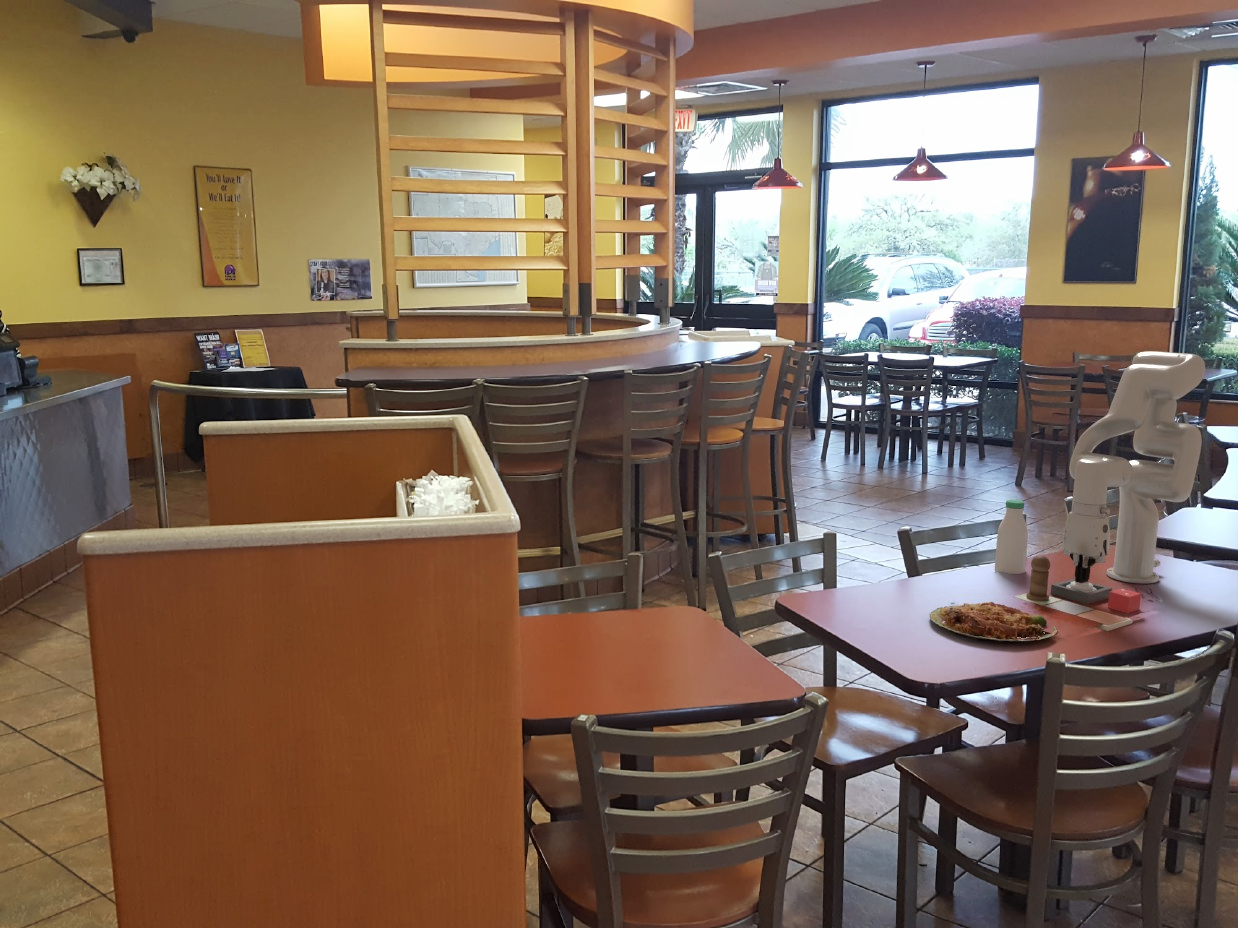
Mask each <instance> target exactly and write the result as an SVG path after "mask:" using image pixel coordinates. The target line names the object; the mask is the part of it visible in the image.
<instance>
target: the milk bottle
mask: <svg viewBox="0 0 1238 928" xmlns="http://www.w3.org/2000/svg"><path fill="white" fill-rule="evenodd" d="M1005 509H1006V511H1005V514H1004V517H1003V519H1001V522H1000V524H999V526H998V529H997V536H996V538H997V539H996V545H995V546H996V548H995V549H996V550H995V561H994V571H995V573H999V572H1000V573H1002V574H1003V573H1004V574H1009V575H1010V574H1011V575H1013V574H1014V575H1019V574H1024V573H1025V572H1026V566H1027V556H1028V555H1027V553H1028V552H1027V551H1028V542H1029V539H1028V537H1029V531H1028V526H1027V524H1026V521H1025V517H1024V510H1025V502H1024V500H1023V501H1022V500H1019V499H1007V500H1006V502H1005Z"/></svg>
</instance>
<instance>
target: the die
mask: <svg viewBox="0 0 1238 928" xmlns="http://www.w3.org/2000/svg"><path fill="white" fill-rule="evenodd" d="M1141 598H1142V594H1141V593H1140V592H1136V591H1132V590H1128V589H1125V588H1121V587H1120V588H1117V589H1115V590H1112V591H1110V592H1109V598H1108V599H1107V608H1108V609H1111V610H1115V611H1118V612H1122V613H1126V614H1129V613H1132V612H1135V611H1139V610H1140V605H1141ZM1136 615H1139V613H1135V614H1132V615H1130V616H1128V618H1130V617H1133V616H1136Z"/></svg>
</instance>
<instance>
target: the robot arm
mask: <svg viewBox="0 0 1238 928" xmlns="http://www.w3.org/2000/svg"><path fill="white" fill-rule="evenodd" d="M1205 373H1206V363H1205V360H1204V359H1203V358H1202V357H1201V356H1200V355H1198V354H1195V353H1182V352H1168V351H1150V350H1148V351H1141V352H1138V353H1137V354H1135V355H1134V356H1133V359H1132V361H1131V365H1129V366H1127V367H1126V368H1125V370H1124V371H1123V372H1122V375H1121V378H1120V380H1119V383H1118V386H1117V389H1116V391H1115V393H1114V397H1113V399H1112V402H1111V404H1110V407H1109V409H1108V412H1107V414H1106V415H1105V416H1103V417H1101V418H1099V420H1097V421H1095V422H1094V423H1093V424H1091V426H1089V427H1088V428H1087V429H1086V430H1085V431H1084V432H1083V433H1082V434H1081V435H1080V436H1079V438H1078V440H1077V441H1076V444H1075V447H1074V449H1073V452H1072V455H1071V458H1070V461H1069V466H1068V467H1069V468H1068V469H1069V475H1070V476H1071V478H1072V479H1074V481H1073V492H1072V493H1073V495H1072V505H1071V511H1070V512H1068V515H1067V519H1066V521H1065V526H1064V529H1063V538H1062V548H1063V551H1062V553H1063V554H1064V555H1066V556H1068V557H1070V559H1071V560H1072V562H1073V565H1074V566H1075V569H1074V570H1075V571H1074V578H1075V582H1079V583H1084V582H1089V580H1090V576H1091V575H1090V574H1091V567H1093V566H1094V565H1096V564H1103V563H1106V560H1107V559H1106V556H1108V555H1109V553H1110V545H1111V544H1110V543H1111V532H1110V531H1111V530H1110V529H1111V528H1110V527H1111V526H1110V520H1109V516H1106V515H1109V514H1110V513H1111V509H1110V508H1109V507H1108V508H1107V499H1108V498H1107V496H1108V488H1118V490H1119V509H1118V520H1117V531H1116V540H1115V549H1114V551H1115V553H1114V560H1113V567H1109V568H1107V570H1106V576H1108V577H1109V578H1111V579H1114V580H1117V581H1121V582H1125V583H1126V582H1127V583H1131V584H1144V585H1145V584H1155V583H1157V582H1159V580H1160V576H1159V575H1158V573H1156V572H1154V569H1155V568H1157V567H1160V566H1161V561H1160V560H1159V559H1155V555H1156V547H1157V541H1158V540H1157V537H1158V530H1159V529H1158V528H1159V520H1160V519H1159V518H1160V514H1159V510H1158V508H1157V507H1158V506H1156V504H1155V502H1154V500H1159V501H1165V502H1166V501H1167V502H1172V503H1183V502H1185V501H1186V500H1188V498H1189V497H1190V496H1191V493H1192V490H1193V487H1194V482H1195V478H1196V473H1197V469H1198V465H1199V460H1200V455H1201V452H1202V451H1201V449H1202V445H1203V444H1202V442H1203V441H1202V433H1201V430H1200V429H1199V428H1198V427H1197V426H1195V425H1193V424H1189V423H1183V422H1175V417H1176V413H1177V408H1178V403H1177V400H1179V399H1181V398H1182V397H1185V396H1186V395H1187V394H1188V393H1190V392H1192V391H1193V390H1194V389H1195V388H1196V387H1198V386H1199V385H1200V383H1201V382H1202V381H1203V379H1204V376H1205V375H1206V374H1205ZM1131 432H1134V434H1133V441H1132V447H1133V449H1134V451H1135V452H1136V453H1137V454H1140V455H1143V456H1147V457H1155V458H1160V459H1161V458H1162V459H1168V460H1173V462H1174V464H1173V463H1172V464H1171V463H1163V462H1160V461H1153V460H1143V459H1132V460H1128V459H1126V458H1124V457H1121V456H1116V455H1114V456H1113V455H1107V454H1103V453H1102V454H1101V453H1095V452H1093V451H1094V450H1095V449H1096V447H1098V445H1099V444H1101V443H1102V442H1104V441H1106V440H1108V439H1111V438H1113V437H1117V436H1120V435H1125V434H1127V433H1131Z"/></svg>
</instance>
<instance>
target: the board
mask: <svg viewBox="0 0 1238 928" xmlns="http://www.w3.org/2000/svg"><path fill="white" fill-rule="evenodd" d="M1026 596H1027V592H1026V593H1023V594H1018V595H1014V596H1013V598H1015V599H1019V600H1022V601H1026V602H1029V603H1033V604H1037V605H1039V606H1044V607H1046V608H1049V609H1053V610H1056V611H1059V612H1062V613H1066V614H1070V615H1073V616H1075V615H1076V617H1080V618H1083V619H1086V620H1090V621H1093V622H1097V623H1100V625H1096V626H1095V628H1096V629H1098V630H1099V629H1100V630H1103V631H1106V632H1109V631H1113V630H1115V629H1118V628H1122V627H1125V626H1128V625H1131V624H1133V621H1134V620H1133V618H1130V617H1128V616H1126V617H1123V616H1120V615H1117V614H1112V613H1109V612H1105V611H1102V610H1099V609H1094V608H1092V607H1089V606H1085V605H1081V604H1078V603H1076V602H1075V603H1074V602H1072V601H1067V600H1063V599H1061V598H1057V597H1054V596H1050V595H1049V600H1048V601H1033V600H1030V599H1028V598H1027V597H1026Z"/></svg>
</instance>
